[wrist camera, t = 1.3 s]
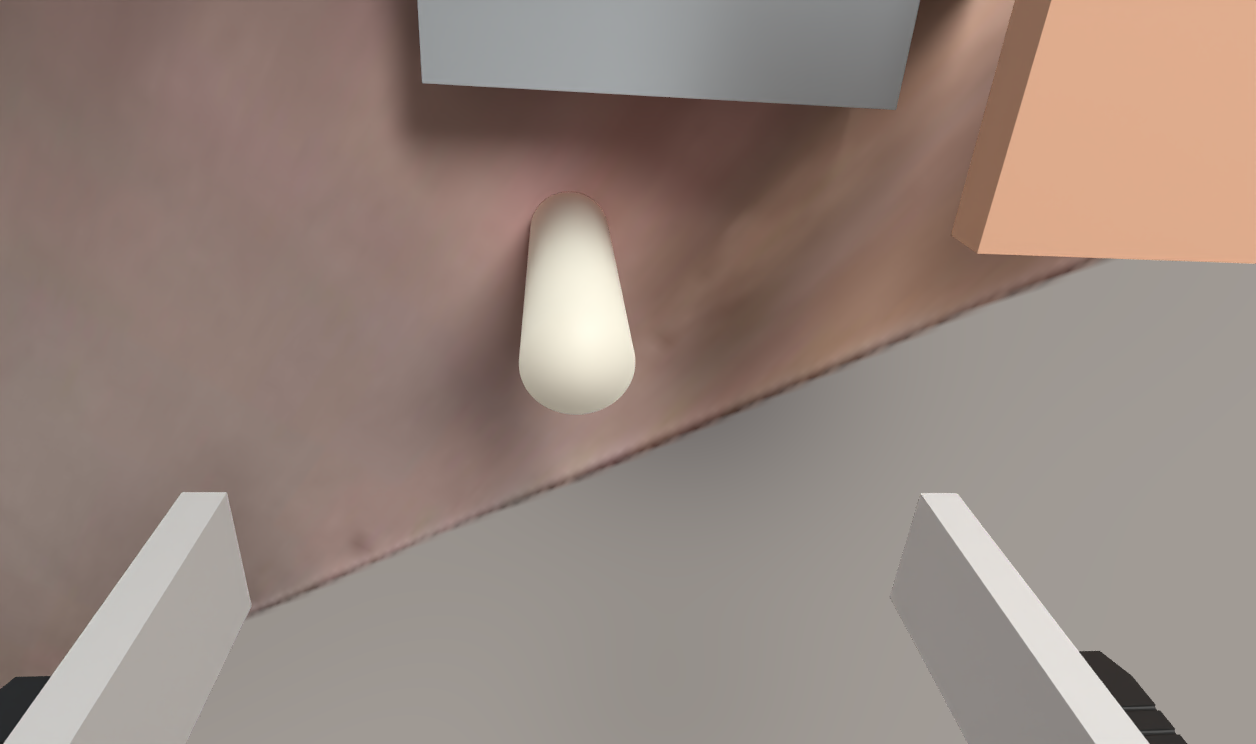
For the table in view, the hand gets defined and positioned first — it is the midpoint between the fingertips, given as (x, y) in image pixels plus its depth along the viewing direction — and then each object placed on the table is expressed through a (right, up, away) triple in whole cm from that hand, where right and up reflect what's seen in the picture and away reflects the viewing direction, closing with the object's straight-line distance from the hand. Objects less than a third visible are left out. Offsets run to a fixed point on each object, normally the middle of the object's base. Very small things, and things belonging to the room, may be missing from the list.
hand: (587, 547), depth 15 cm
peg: (-2, +9, +17) cm, 19 cm away
